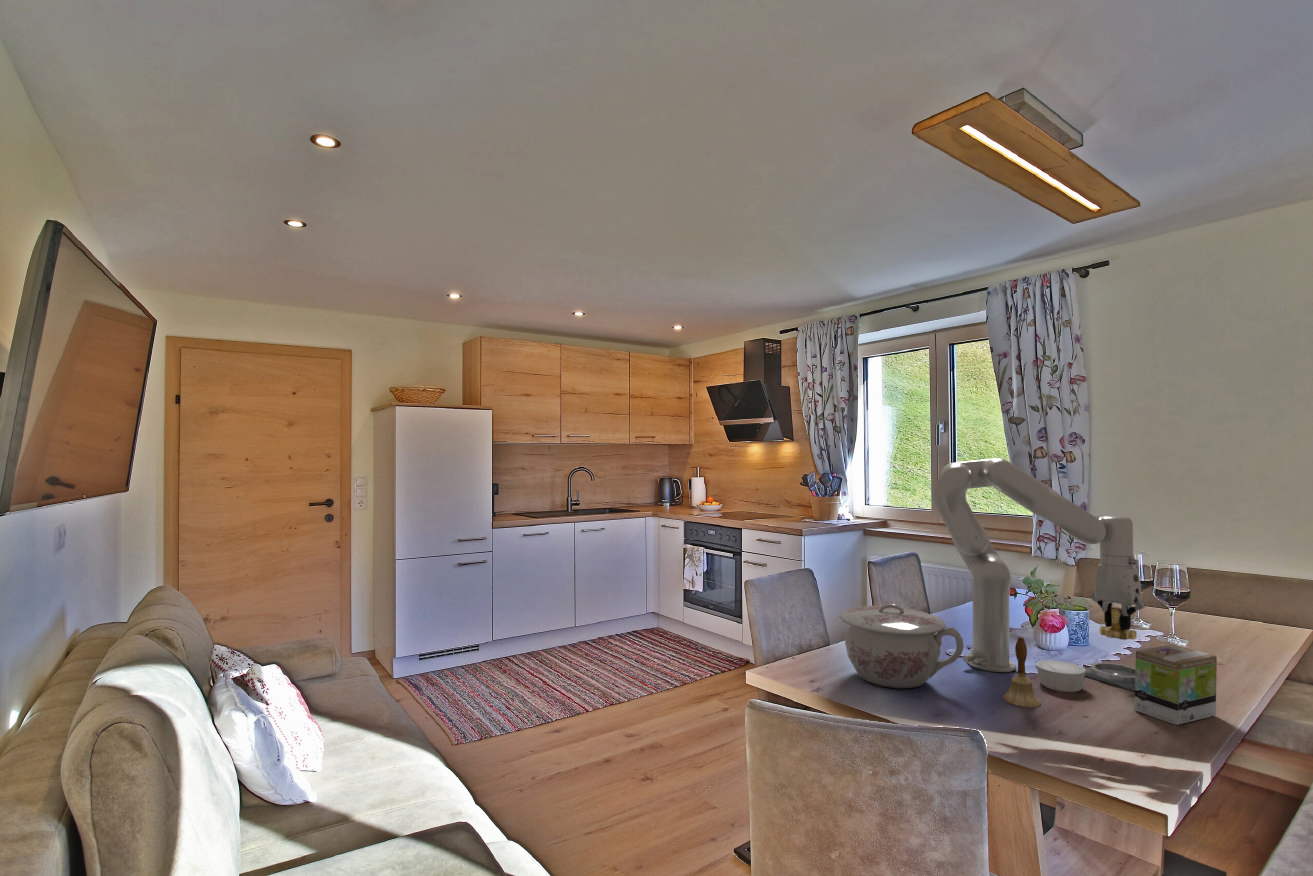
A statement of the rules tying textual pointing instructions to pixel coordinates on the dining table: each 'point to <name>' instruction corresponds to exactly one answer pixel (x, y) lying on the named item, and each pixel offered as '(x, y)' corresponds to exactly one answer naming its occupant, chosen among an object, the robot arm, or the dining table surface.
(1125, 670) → the tray
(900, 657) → the chamber pot
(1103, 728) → the dining table surface
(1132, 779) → the dining table surface
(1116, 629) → the planet gear
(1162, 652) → the tea box
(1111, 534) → the robot arm
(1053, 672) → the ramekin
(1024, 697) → the hand bell
